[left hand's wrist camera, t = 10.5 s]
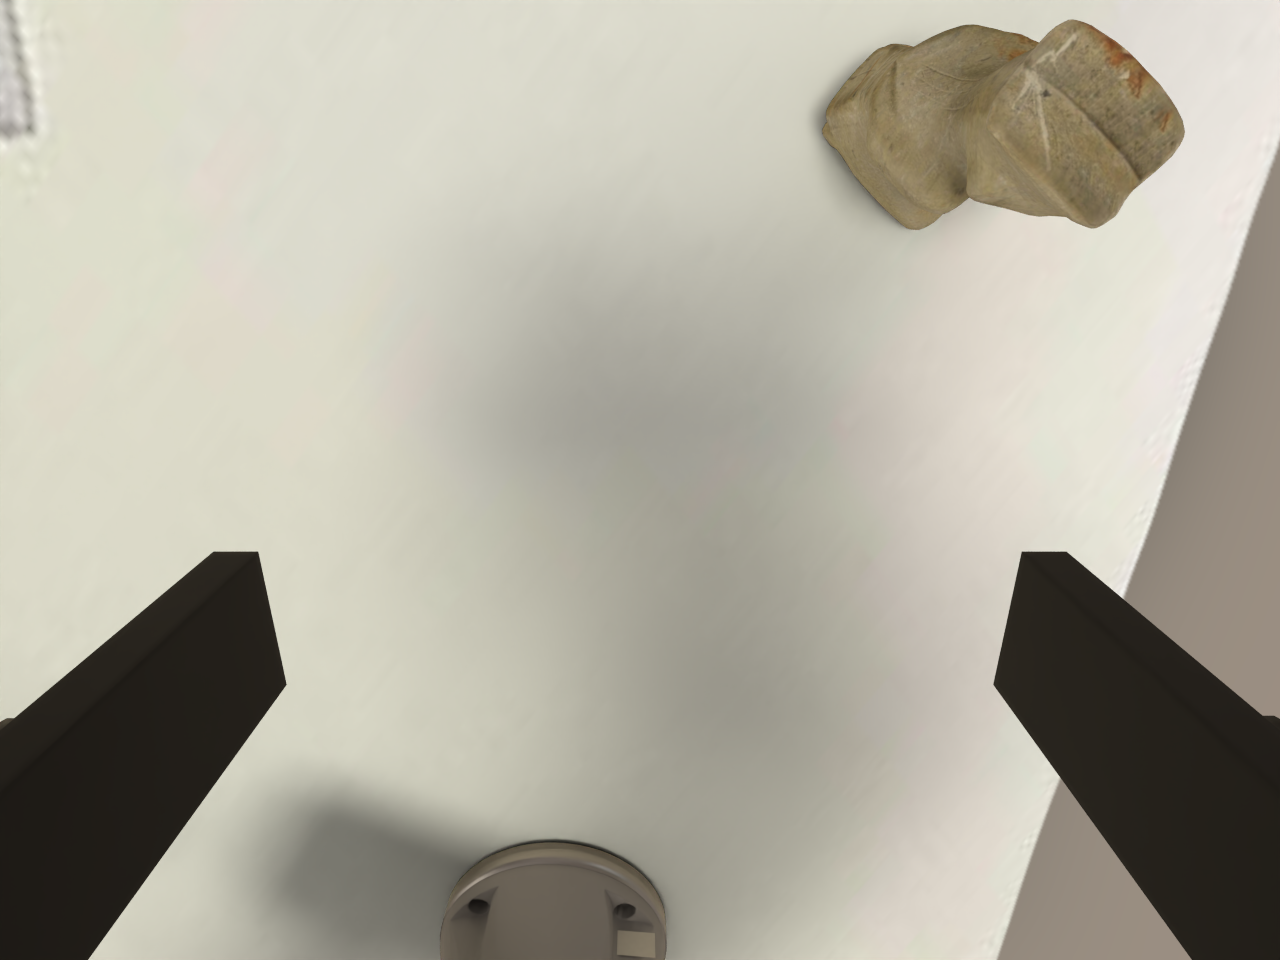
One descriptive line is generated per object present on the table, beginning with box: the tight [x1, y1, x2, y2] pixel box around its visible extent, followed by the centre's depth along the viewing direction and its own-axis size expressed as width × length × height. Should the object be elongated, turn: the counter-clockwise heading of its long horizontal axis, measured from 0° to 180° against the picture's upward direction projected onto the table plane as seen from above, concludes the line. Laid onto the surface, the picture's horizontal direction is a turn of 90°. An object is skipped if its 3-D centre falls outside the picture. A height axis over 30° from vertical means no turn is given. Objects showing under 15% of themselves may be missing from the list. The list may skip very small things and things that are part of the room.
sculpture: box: [822, 20, 1185, 230], centre depth 26 cm, size 6×7×15 cm
